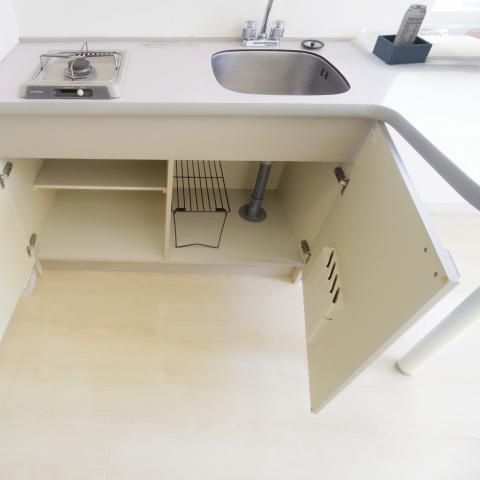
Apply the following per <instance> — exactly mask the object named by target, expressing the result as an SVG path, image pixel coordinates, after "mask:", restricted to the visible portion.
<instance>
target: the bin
mask: <svg viewBox="0 0 480 480" xmlns="http://www.w3.org/2000/svg"><path fill="white" fill-rule="evenodd" d="M396 35H397V33H396V34H382V35H381V34H380V35H378V36H377V39H376V41H375V44H374V47H373V49H372V54H373V55H374V56H376V58H378V59H380V60H381V61H383V62H384V63H385V64H387V65H406V64H421V63H425V62H426V60H427V58H428V56H429V54H430V52H431V50H432V47H433V45H434V44H433V43H432V42H429V41H427V40H426V39H424V38H422V37H420V36H418V35H417V36H416V38H415V40H414V43H413V45H401V46H396V45H394V44H393V43H394V40H395V37H396Z"/></svg>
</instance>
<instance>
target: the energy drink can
mask: <svg viewBox="0 0 480 480" xmlns="http://www.w3.org/2000/svg"><path fill="white" fill-rule="evenodd" d="M426 15H427V5H426V4H417V3H415V4H410V5H409V7H408V8H407V9H406V10H405V12H404V15H403V17H402V20H401V22H400V25H399V27H398V30H397V32H396V34H397V35H396V34H395V35H396V37H395V40H394V43H393V44H394V45H396V46H401V45H413V43H414V40H415V38H416V36H418V33H419V30H420V29H421V27H422V24H423V21H424V20H425V18H426Z"/></svg>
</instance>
